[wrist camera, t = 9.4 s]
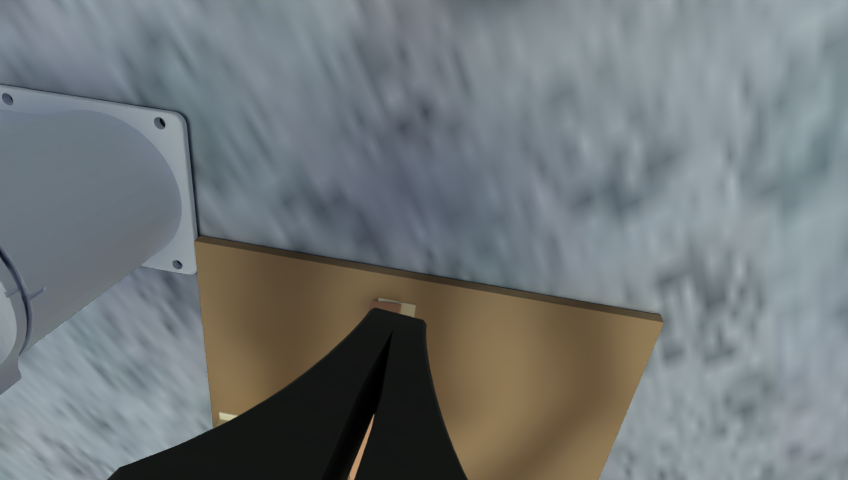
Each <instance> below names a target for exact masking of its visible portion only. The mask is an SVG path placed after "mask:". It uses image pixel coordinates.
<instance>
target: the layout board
mask: <svg viewBox="0 0 848 480" xmlns="http://www.w3.org/2000/svg"><path fill="white" fill-rule="evenodd" d="M194 247H195V257H196V266H197V276H198V285H199V295H200V304H201V314H202V324H203V333H204V343H205V352H206V362H207V372H208V381H209V391H210V400H211V410H212V420H213V428H214V427H215V425H216V424H217V422H218V421H219V419H224V420H231V419H233V418H235V417H237V416H239V415H240V414H242V413H244V412H246V411H247V410H249V409H251V408H252V407H254V406H256V405H257V404H259V403H261V402H262V401H264V400H266V399H267V398H269V397H271V396H272V395H274V394H275V393H277V392H278V391H280V390H281V389H283V388H284V387H286V386H287V385H288V384H290V383H291V382H293V381H294V380H295V379H297V378H298V377H299V376H301V375H302V374H303V373H305V372H306V371H307V370H308V369H310V368H311V367H312V366H313V365H315V364H316V363H317V362H318V361H320V360H321V359H322V358H323V357H324V356H326V355H327V354H328V353H329V352H330V351H331V350H332V349H333V348H334V347H336V346H337V345H338V344H339V343H340V342H341V341H342V340H343V339H344V338H345V337H346V336H347V335H348V334H349V333H350V332H351V331H352V330H353V329H354V328H355V327H356V326H357V325H358V324H359V323H360V322H361V321H362V319H363V318H364V317H365V316H366V315H367V312H368V310H369V308H370V305H371V303H372V301H378V302H385V303H392V304H399V305H401V314H403V315H407V316H411V317H415V318H419V319H422V320H424V321H425V323H426V324H427V327H426V342H427V351H428V359H429V365H430V370H431V375H432V379H433V384H434V388H435V392H436V396H437V400H438V403H439V407H440V410H441V414H442V417H443V420H444V423H445V426H446V429H447V431H448V434H449V437H450V439H451V442H452V445H453V447H454V450H455V452H456V454H457V457H458V459H459V461H460V464H461V466H462V468H463V470H464V472H465V474H466V476H467V478H468V480H599V477H600V475H601V472H602V470H603V468H604V465H605V463H606V460H607V458H608V456H609V453H610V451H611V448H612V446H613V444H614V441H615V439H616V436H617V434H618V432H619V429H620V427H621V424H622V422H623V420H624V417H625V415H626V412H627V410H628V408H629V405H630V403H631V400H632V398H633V396H634V393H635V391H636V388H637V386H638V384H639V381H640V379H641V376H642V374H643V372H644V369H645V367H646V364H647V362H648V360H649V357H650V355H651V352H652V350H653V348H654V345H655V343H656V340H657V338H658V336H659V333H660V331H661V328H662V326H663V324H664V322H663V320H662V318H661V316H660V315H658V314H652V313H646V312H640V311H635V310H629V309H623V308H617V307H611V306H606V305H600V304H594V303H588V302H582V301H576V300H571V299H565V298H559V297H553V296H547V295H542V294H536V293H530V292H524V291H518V290H513V289H507V288H501V287H495V286H489V285H484V284H478V283H472V282H466V281H460V280H455V279H449V278H443V277H437V276H431V275H426V274H420V273H414V272H408V271H402V270H397V269H391V268H385V267H379V266H373V265H368V264H362V263H356V262H350V261H344V260H339V259H333V258H327V257H321V256H315V255H310V254H304V253H298V252H292V251H286V250H281V249H275V248H269V247H263V246H257V245H252V244H246V243H240V242H234V241H228V240H223V239H217V238H211V237H205V236H200V237H198V238H197V239H196V240H195V241H194Z"/></svg>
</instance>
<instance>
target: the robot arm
mask: <svg viewBox="0 0 848 480" xmlns="http://www.w3.org/2000/svg"><path fill="white" fill-rule="evenodd" d="M10 96H11V97H12V99H13V101H12V100H11V98H10ZM160 118H162V119H163V120H164V121H165V124H166V126H165V127H164V126H162V124H161V123H160V121H159V120H160ZM197 238H198V234H197V224H196V214H195V204H194V194H193V184H192V174H191V164H190V154H189V144H188V134H187V125H186V121H185V119H184V118H183V116H182V115H180V114H179V113H177V112H174V111H167V110H161V109H154V108H148V107H141V106H135V105H128V104H122V103H116V102H109V101H103V100H96V99H90V98H83V97H77V96H71V95H64V94H58V93H51V92H45V91H38V90H32V89H25V88H19V87H13V86H6V85H0V395H1V394H2V393H4V392H5V391H6V390H7V389H9V388H10V387H11V386H12V385H14V384H15V383H16V382H17V381H19V380H20V379H21V374H20V371H19V368H18V356H19V355H20V354H22V353H23V352H24V351H26V350H27V349H28V348H30V347H31V346H32V345H34V344H35V343H37V342H38V341H39V340H41V339H42V338H43V337H45V336H46V335H47V334H49V333H50V332H51V331H53V330H54V329H55V328H57V327H58V326H59V325H61V324H62V323H63V322H65V321H66V320H67V319H69V318H70V317H71V316H73V315H74V314H76V313H77V312H78V311H80V310H81V309H82V308H84V307H85V306H86V305H88V304H89V303H90V302H92V301H93V300H94V299H96V298H97V297H98V296H100V295H101V294H102V293H104V292H105V291H106V290H108V289H109V288H110V287H112V286H113V285H115V284H116V283H117V282H119V281H120V280H121V279H123V278H124V277H125V276H127V275H128V274H129V273H131V272H132V271H133V270H135V269H136V268H137V267H139V266H143V267H148V268H154V269H159V270H165V271H171V272H176V273H182V274H187V275H193V274H195V273H196V272H197V266H196V257H195V247H194V241H195V240H196V239H197ZM177 260H178V261H180V262H181V263H182V265H180V264H179V263H178V262H177ZM426 327H427V324H426V323H425V321H424V320H422V319H419V318H415V317H411V316H407V315H403V314H399V313H395V312H391V311H388V310H384V309H380V308H376V307H375V308H373V309H371V310H370V311H369V312H368V313H367V315H366V316H365V317H364V318H363V319H362V321H361V322H360V323H359V324H358V325H357V326H356V327H355V328H354V329H353V330H352V331H351V332H350V333H349V334H348V335H347V336H346V337H345V338H344V339H343V340H342V341H341V342H340V343H339V344H338V345H337V346H336V347H334V348H333V349H332V350H331V351H330V352H329V353H328V354H327V355H326V356H324V357H323V358H322V359H321V360H320V361H318V362H317V363H316V364H315V365H313V366H312V367H311V368H310V369H308V370H307V371H306V372H305V373H303V374H302V375H301V376H299V377H298V378H297V379H295V380H294V381H293V382H291V383H290V384H288V385H287V386H286V387H284V388H283V389H281V390H280V391H278V392H277V393H275V394H274V395H272V396H271V397H269V398H267V399H266V400H264V401H262V402H261V403H259V404H257V405H256V406H254V407H252V408H251V409H249V410H247V411H246V412H244V413H242V414H240V415H239V416H237V417H235V418H233V419H231V420H229V421H227V422H226V423H223V424H221V425H219V426H217V427H215V428H213V429H211V430H209V431H207V432H205V433H203V434H201V435H199V436H197V437H195V438H192V439H190V440H188V441H186V442H184V443H182V444H179V445H177V446H175V447H172V448H170V449H167V450H164V451H162V452H159V453H157V454H154V455H151V456H149V457H146V458H144V459H141V460H139V461H136V462H133V463H131V464H128V465H125V466H122V467H120V468H118V469H117V470H116V471H115V472H114V473H113V474H112V475H111V476H110V477H109V478H108V479H107V480H347V479H348V477H349V474H350V472H351V469H352V467H353V464H354V462H355V459H356V457H357V455H358V452H359V450H360V447H361V445H362V442H363V440H364V437H365V435H366V433H367V430H368V428H369V425H370V423H371V420H372V418H373V415H374V418H373V423H372V428H371V431H370V434H369V437H368V440H367V443H366V446H365V449H364V452H363V455H362V458H361V461H360V464H359V467H358V470H357V473H356V475H355V478H354V480H468V478H467V476H466V474H465V472H464V470H463V468H462V466H461V464H460V461H459V459H458V457H457V454H456V452H455V450H454V447H453V445H452V442H451V439H450V437H449V434H448V431H447V429H446V426H445V423H444V420H443V417H442V414H441V410H440V407H439V403H438V400H437V396H436V392H435V388H434V384H433V379H432V375H431V370H430V365H429V359H428V351H427V342H426Z"/></svg>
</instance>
